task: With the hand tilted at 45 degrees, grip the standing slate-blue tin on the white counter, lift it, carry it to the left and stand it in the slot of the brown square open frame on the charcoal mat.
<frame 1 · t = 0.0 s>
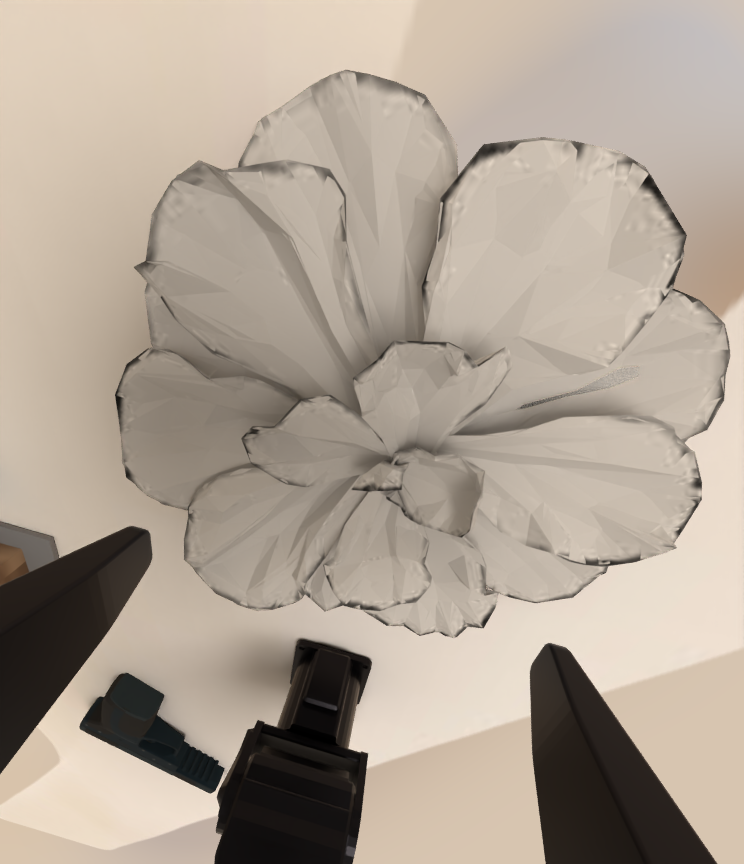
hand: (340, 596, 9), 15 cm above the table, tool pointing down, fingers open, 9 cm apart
decorative wall flower: (393, 421, 24), on the table
handgun: (175, 720, 47), on the table
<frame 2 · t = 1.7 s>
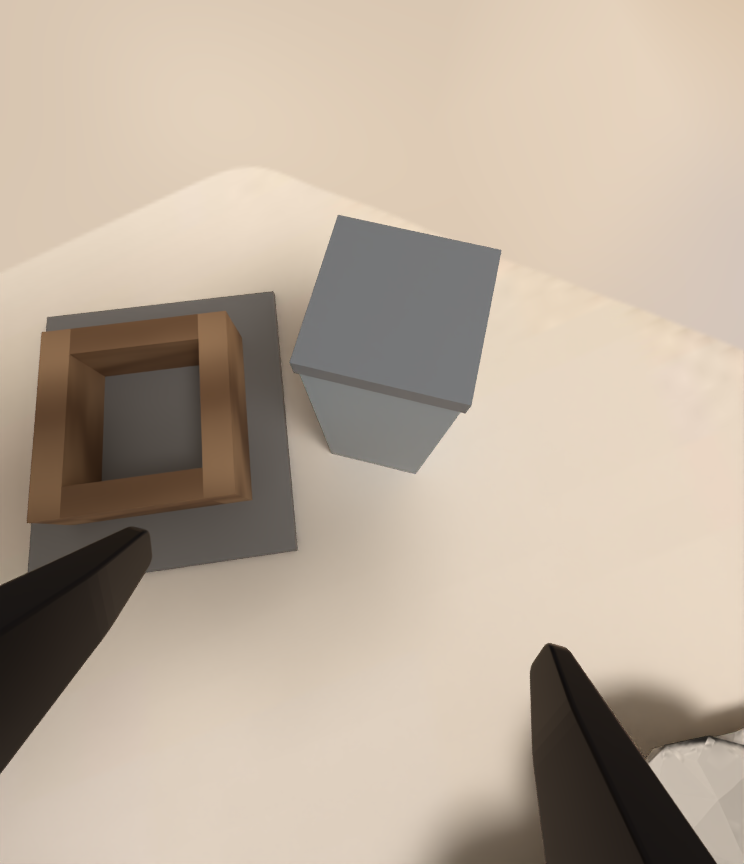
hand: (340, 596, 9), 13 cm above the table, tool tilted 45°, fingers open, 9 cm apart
mat: (165, 427, 24), on the table
brown square open frame: (148, 417, 22), on the mat
tin: (383, 423, 24), on the table
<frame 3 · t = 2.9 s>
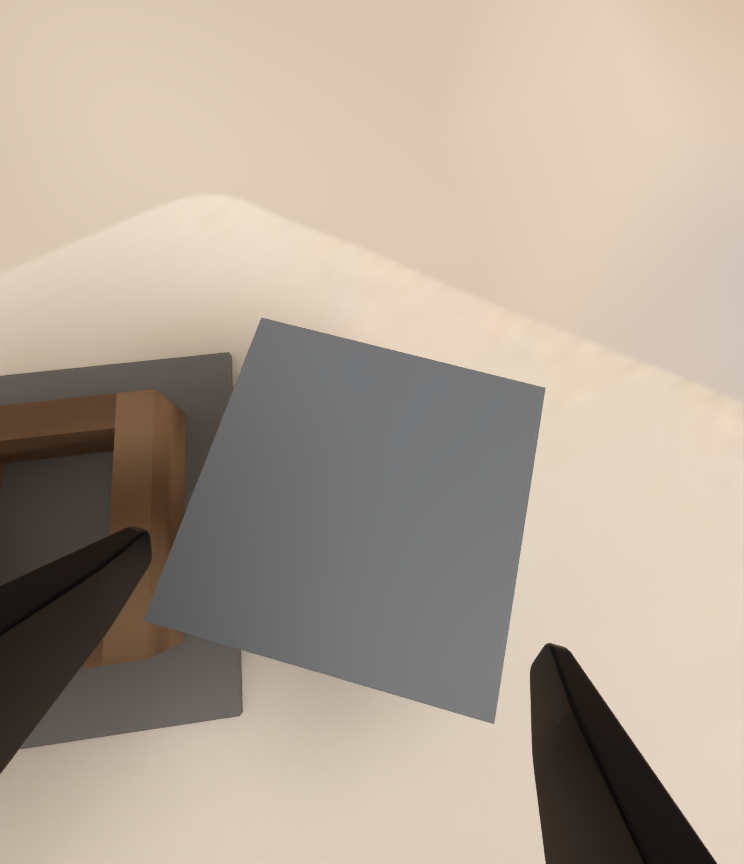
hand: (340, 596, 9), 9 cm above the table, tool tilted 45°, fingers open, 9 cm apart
mat: (79, 532, 18), on the table
brown square open frame: (47, 530, 16), on the mat
tin: (363, 530, 18), on the table
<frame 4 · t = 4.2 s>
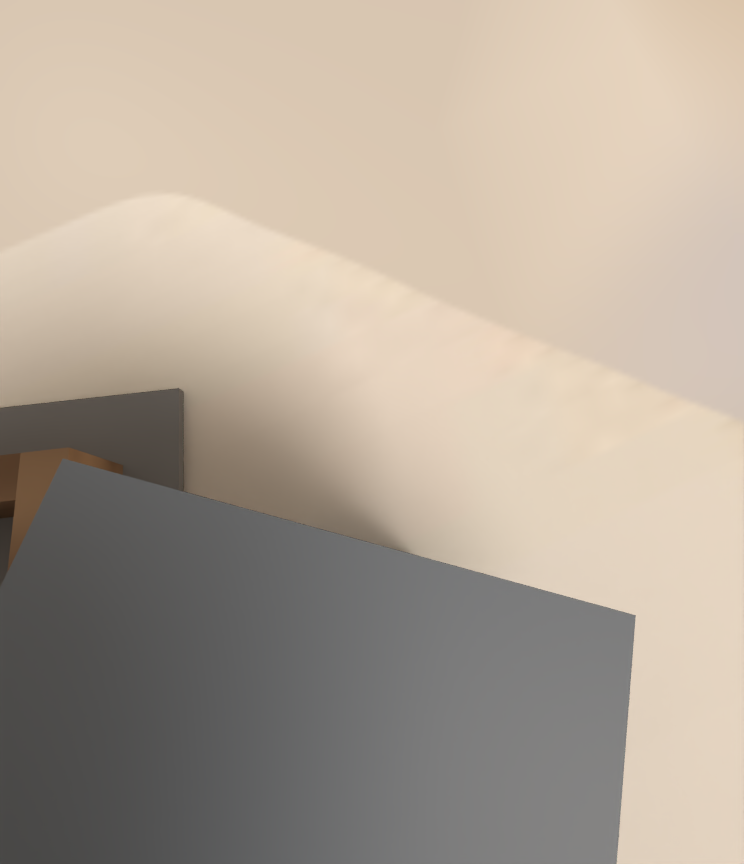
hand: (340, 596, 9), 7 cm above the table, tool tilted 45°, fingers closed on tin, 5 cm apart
tin: (340, 613, 15), on the table, touching gripper
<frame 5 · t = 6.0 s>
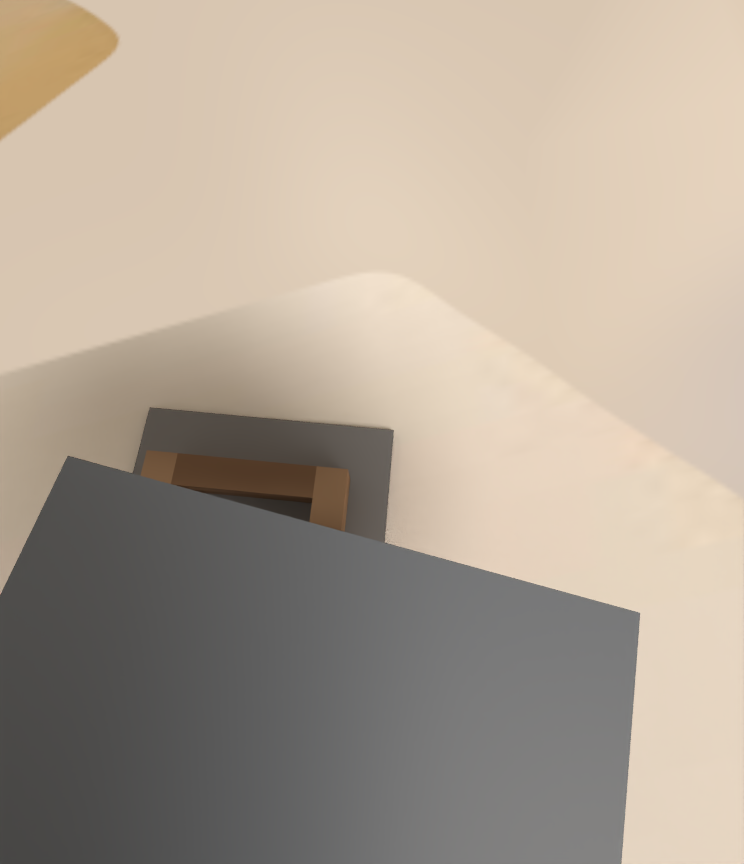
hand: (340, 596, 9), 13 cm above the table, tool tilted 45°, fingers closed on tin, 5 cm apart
mat: (248, 565, 21), on the table
brown square open frame: (237, 567, 19), on the mat
tin: (341, 613, 15), point 6 cm above the table, touching gripper
when the fingers open (8 cm above the table, at t = 7.7 s): tin stays where it is, resting on mat.
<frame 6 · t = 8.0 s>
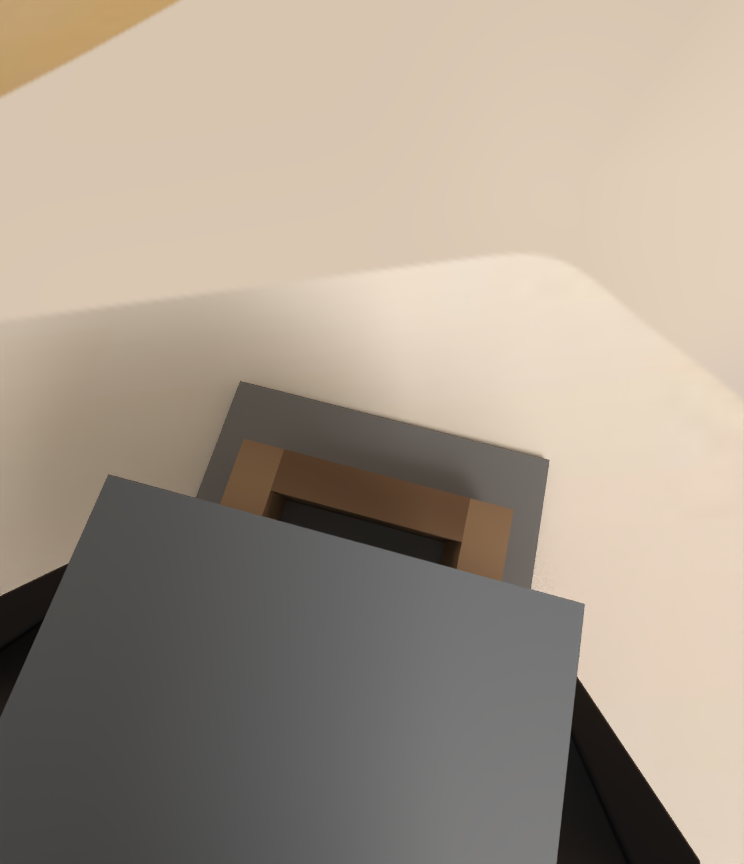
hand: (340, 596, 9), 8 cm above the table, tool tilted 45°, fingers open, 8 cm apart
mat: (342, 608, 16), on the table
brown square open frame: (339, 617, 14), on the mat
tin: (340, 610, 16), resting on mat
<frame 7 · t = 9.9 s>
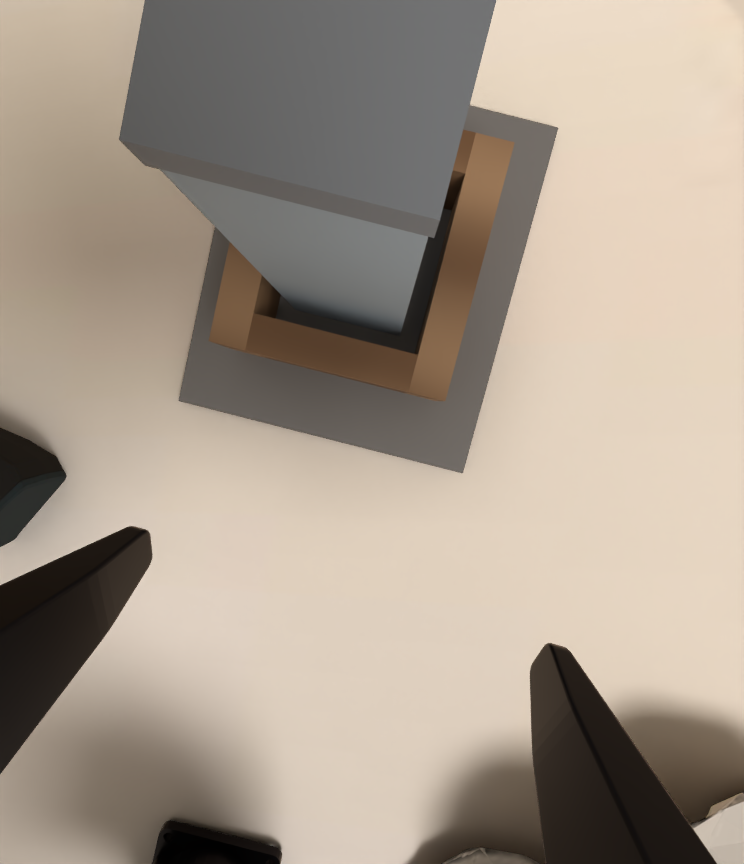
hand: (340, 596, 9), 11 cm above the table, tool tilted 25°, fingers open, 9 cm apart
mat: (361, 272, 19), on the table
brown square open frame: (359, 258, 17), on the mat
tin: (360, 269, 19), resting on mat
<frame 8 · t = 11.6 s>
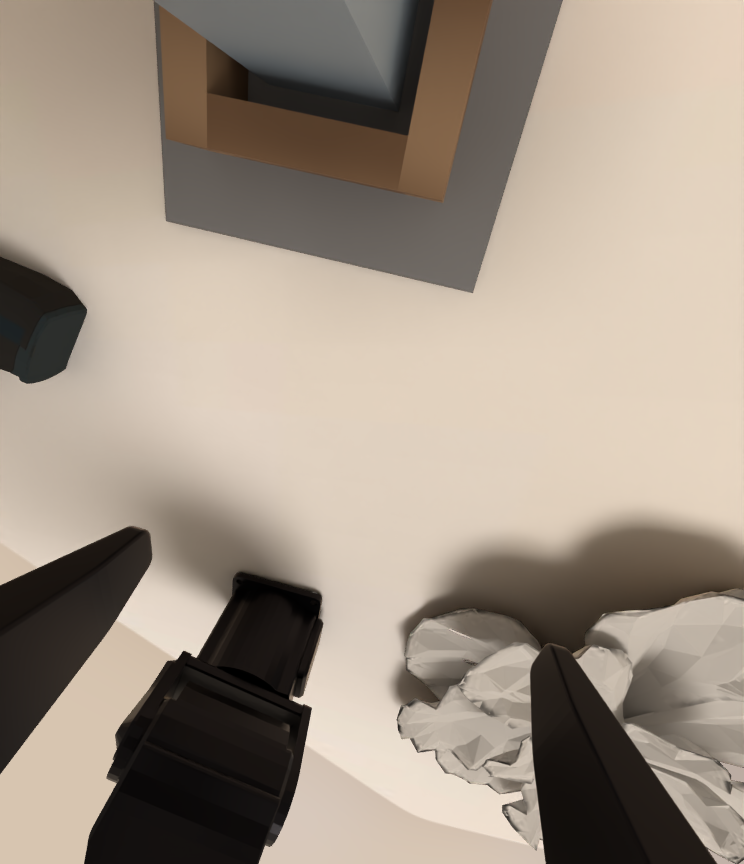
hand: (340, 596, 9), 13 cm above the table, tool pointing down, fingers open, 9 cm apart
mat: (347, 11, 14), on the table
decorative wall flower: (606, 695, 29), on the table
tin: (344, 6, 14), resting on mat
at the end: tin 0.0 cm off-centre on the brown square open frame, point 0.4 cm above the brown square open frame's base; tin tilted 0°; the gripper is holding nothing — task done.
